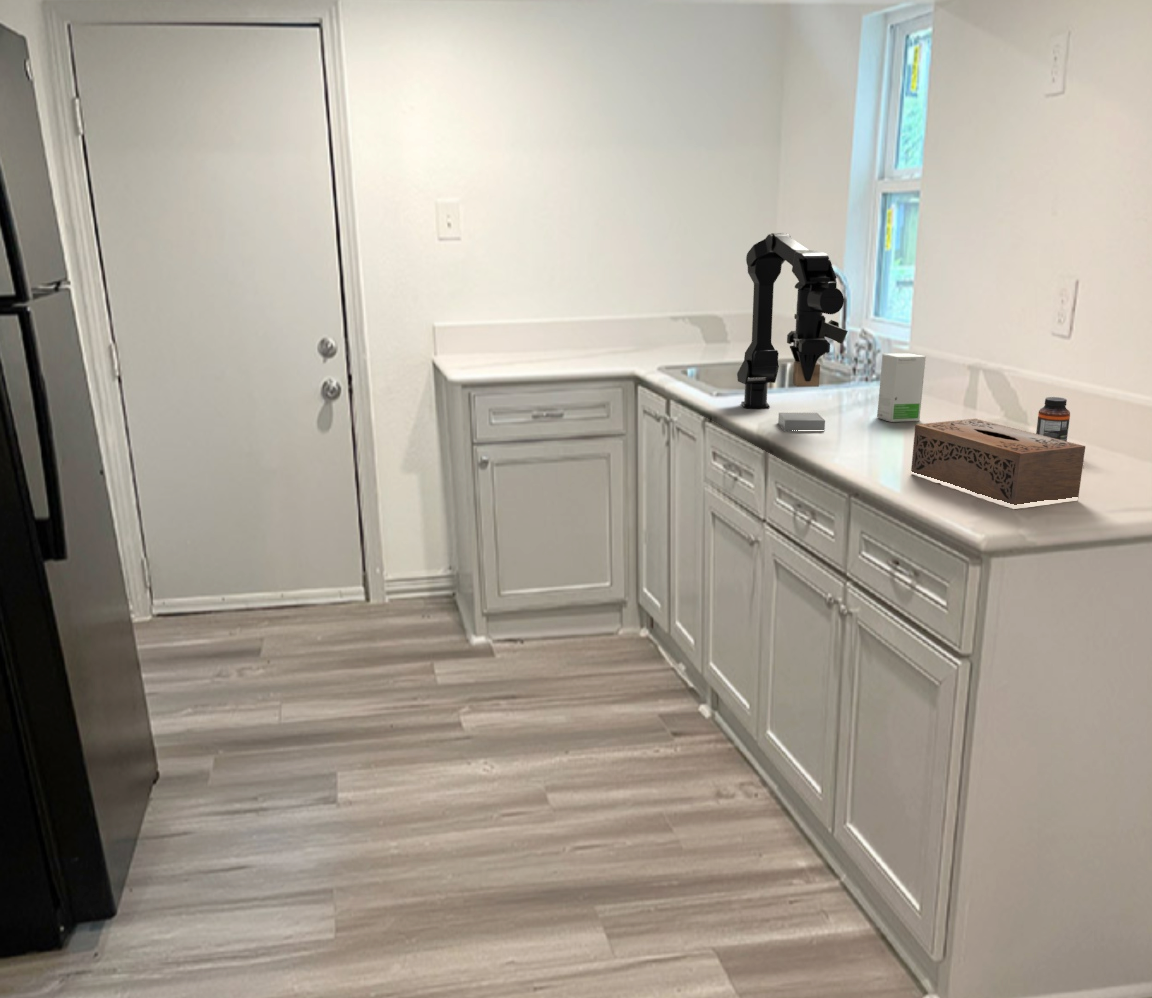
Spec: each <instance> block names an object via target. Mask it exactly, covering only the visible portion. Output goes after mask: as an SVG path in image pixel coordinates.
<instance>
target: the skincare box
mask: <svg viewBox="0 0 1152 998" xmlns="http://www.w3.org/2000/svg"><path fill="white" fill-rule="evenodd" d="M926 358H927V356H925V355H921V354H914V353H882V354H881V368H880V370H881V371H880V382H879V394H878V402H877V412H876V413H877V415H876V418H878V419H880V420H883V421H887V422H890V423H895V422H897V423H898V422H900V423H901V422H919V421H920V419H921V410H922V409H921V408H922V399H923V387H924V377H925V369H926V367H925V366H926Z"/></svg>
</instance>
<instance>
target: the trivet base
mask: <svg viewBox="0 0 1152 998" xmlns="http://www.w3.org/2000/svg"><path fill="white" fill-rule="evenodd" d="M777 420H778V421H777V424H778V425H779V426H780V428H781V427H782V428H781V429H782V431H783V432H794V430H795V431H796V430H797V431H798V430H824V431H825V429H826V420H825V418H823V417H822V416H821V415H820V414H819V413H818V412H778V419H777ZM792 430H793V431H792Z"/></svg>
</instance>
